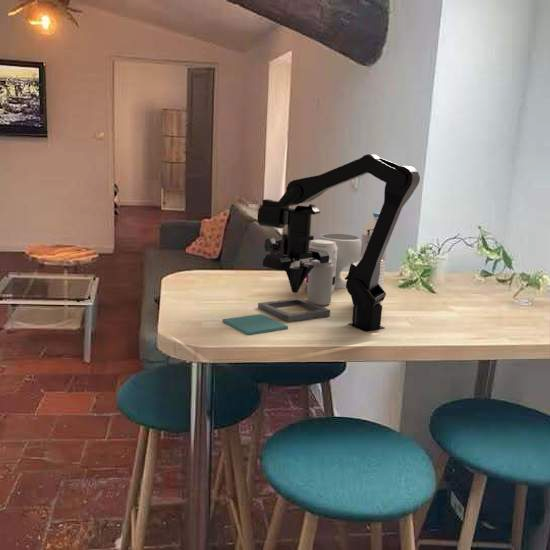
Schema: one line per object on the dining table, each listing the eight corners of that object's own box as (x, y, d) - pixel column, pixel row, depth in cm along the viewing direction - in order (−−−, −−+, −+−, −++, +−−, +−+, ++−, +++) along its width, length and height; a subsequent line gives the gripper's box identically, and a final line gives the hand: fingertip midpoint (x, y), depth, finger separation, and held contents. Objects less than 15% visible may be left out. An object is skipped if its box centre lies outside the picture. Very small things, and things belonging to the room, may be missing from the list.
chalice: (367, 285, 192) (371, 237, 188) (345, 293, 180) (350, 242, 177) (327, 278, 199) (331, 231, 196) (304, 285, 188) (307, 235, 185)
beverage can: (334, 303, 169) (338, 260, 166) (323, 308, 163) (327, 263, 160) (313, 299, 172) (316, 256, 169) (302, 303, 166) (305, 259, 164)
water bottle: (351, 305, 167) (359, 212, 162) (360, 300, 173) (368, 210, 168) (376, 310, 164) (385, 215, 159) (384, 305, 170) (393, 213, 165)
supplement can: (319, 298, 173) (322, 244, 170) (299, 291, 180) (302, 240, 176) (339, 294, 179) (343, 242, 175) (319, 288, 185) (323, 238, 181)
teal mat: (287, 328, 144) (288, 326, 144) (247, 335, 138) (247, 332, 138) (261, 316, 153) (261, 313, 153) (222, 321, 147) (222, 319, 146)
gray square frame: (329, 315, 156) (330, 310, 156) (288, 322, 149) (288, 316, 149) (298, 303, 167) (298, 297, 166) (257, 308, 159) (258, 303, 159)
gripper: (299, 224, 165) (296, 281, 169) (248, 228, 152) (245, 290, 156) (332, 230, 158) (327, 290, 161) (281, 235, 145) (277, 300, 148)
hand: (294, 292), depth 157 cm, fingers closed
